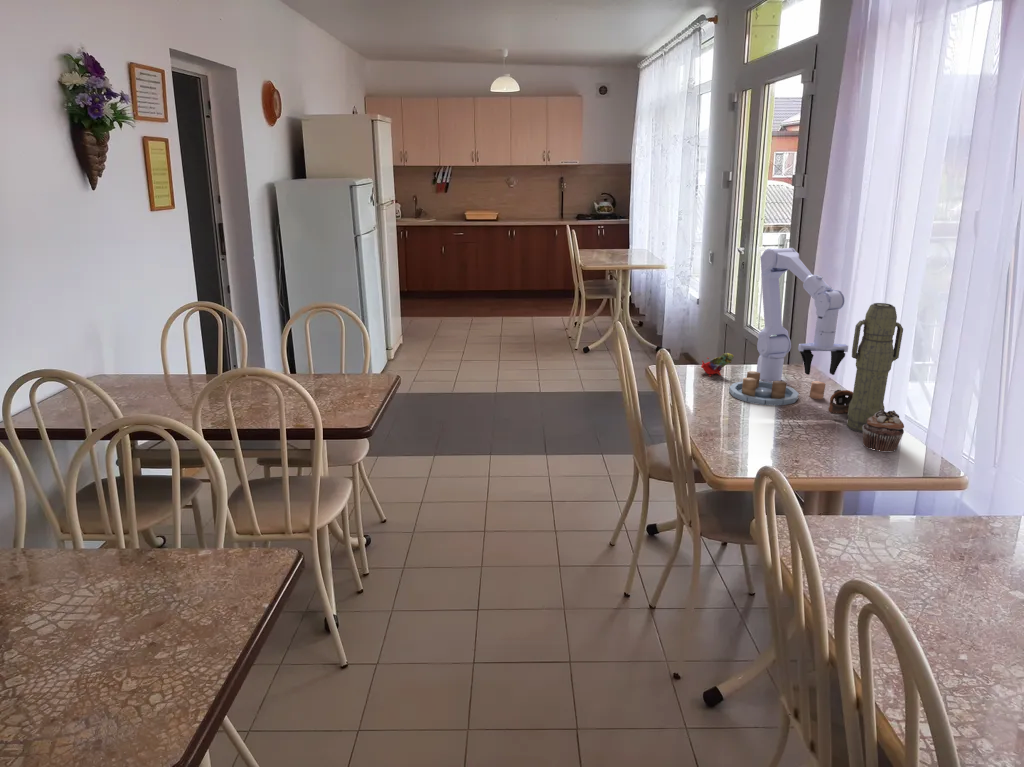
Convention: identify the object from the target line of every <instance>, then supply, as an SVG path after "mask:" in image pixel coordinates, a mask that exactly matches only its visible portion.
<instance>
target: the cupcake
mask: <svg viewBox="0 0 1024 767" xmlns="http://www.w3.org/2000/svg"><path fill="white" fill-rule="evenodd" d="M904 428H905V424H904V422H903V421H902V420H901V419H900V415H899V414H898V413H897V412H896V411H895V410H889V411H885V409H884V410H882V409H881V411H879V412H877V413H875V415H874V416H872V417H870V418H868V419H867V424H864V425H863V427H862V429H863V433H862V443H863V444H864V445H865V446H866V447H868V448H872V449H875V450H880V451H893V452H895V451H896V450H897V449H898V447H899V445H900V441H901V440H902V437H903V435H904V433H905V432H904V431H905V430H904ZM864 445H863V446H864ZM865 446H864V447H865ZM866 447H865V448H866ZM868 448H867V449H868ZM875 450H874V451H875ZM894 450H895V451H894Z"/></svg>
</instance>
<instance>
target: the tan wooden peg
mask: <svg viewBox="0 0 1024 767" xmlns="http://www.w3.org/2000/svg"><path fill="white" fill-rule="evenodd" d="M772 383H773V384H772V392H771V399H782V398H785V392H786V386H787V382H785V381H784V380H783V381H782V380H781V381H773V382H772Z"/></svg>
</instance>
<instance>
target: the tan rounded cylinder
mask: <svg viewBox="0 0 1024 767" xmlns="http://www.w3.org/2000/svg"><path fill="white" fill-rule="evenodd" d="M746 378H754V379H756V380H757V382H756V388H758V387H759V381H761V379H760V373H759V372H757V371H753V370H750V371H747V372H746Z"/></svg>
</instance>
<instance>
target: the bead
mask: <svg viewBox="0 0 1024 767" xmlns="http://www.w3.org/2000/svg"><path fill="white" fill-rule="evenodd" d="M742 381H743V385H742V393H743V394H746V395H748V396H752V397H755V390H756V382H757V380H756V379H754V378H747V377H743V379H742Z"/></svg>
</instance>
